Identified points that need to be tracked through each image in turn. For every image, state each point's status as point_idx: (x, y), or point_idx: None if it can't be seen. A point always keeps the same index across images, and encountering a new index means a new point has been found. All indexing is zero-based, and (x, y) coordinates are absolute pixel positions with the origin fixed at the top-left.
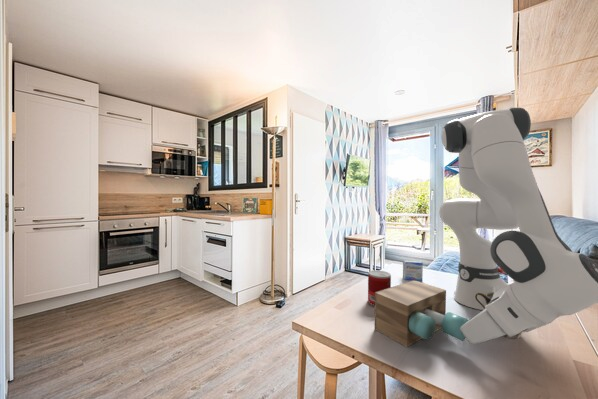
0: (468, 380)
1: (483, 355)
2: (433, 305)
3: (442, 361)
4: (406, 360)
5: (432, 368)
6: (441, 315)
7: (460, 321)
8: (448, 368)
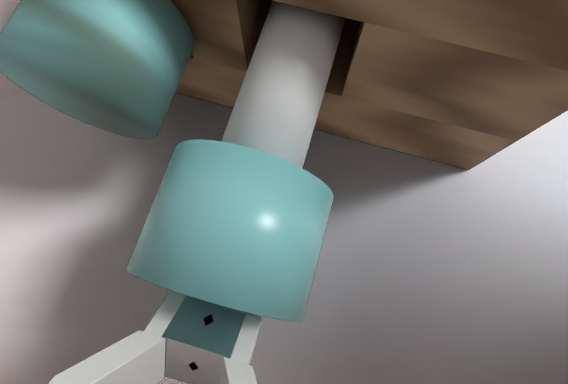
0: (13, 339)
1: (283, 379)
2: (383, 32)
3: (101, 222)
4: (23, 105)
5: (22, 198)
6: (255, 119)
7: (149, 270)
8: (60, 253)
